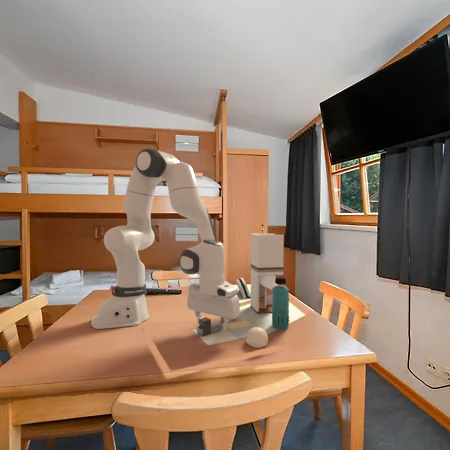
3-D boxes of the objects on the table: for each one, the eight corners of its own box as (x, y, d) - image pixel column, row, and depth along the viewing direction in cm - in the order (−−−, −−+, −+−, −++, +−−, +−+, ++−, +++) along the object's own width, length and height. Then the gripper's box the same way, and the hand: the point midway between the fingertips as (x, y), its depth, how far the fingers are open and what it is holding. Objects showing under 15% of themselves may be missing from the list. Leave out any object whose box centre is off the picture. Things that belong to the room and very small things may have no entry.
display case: (257, 317, 124) (258, 235, 123) (250, 309, 134) (251, 233, 133) (282, 315, 126) (283, 234, 125) (274, 308, 136) (274, 233, 135)
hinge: (253, 298, 153) (247, 280, 152) (245, 301, 152) (239, 283, 151) (247, 290, 169) (242, 274, 168) (240, 293, 169) (234, 277, 168)
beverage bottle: (276, 334, 106) (276, 279, 105) (268, 327, 112) (269, 276, 112) (292, 332, 107) (292, 278, 107) (284, 325, 114) (284, 275, 113)
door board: (208, 350, 93) (208, 331, 93) (192, 333, 106) (192, 317, 106) (265, 337, 103) (265, 320, 103) (244, 323, 116) (244, 308, 116)
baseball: (241, 346, 96) (241, 326, 96) (260, 342, 99) (260, 322, 99) (251, 354, 90) (251, 333, 90) (271, 350, 93) (271, 329, 93)
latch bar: (201, 336, 99) (201, 322, 99) (196, 333, 102) (196, 319, 102) (222, 330, 105) (222, 316, 105) (217, 327, 107) (217, 314, 107)
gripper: (183, 284, 103) (183, 322, 104) (232, 293, 92) (232, 336, 93) (194, 281, 109) (194, 317, 109) (242, 289, 98) (241, 329, 98)
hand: (212, 326), depth 101 cm, fingers open, 8 cm apart
